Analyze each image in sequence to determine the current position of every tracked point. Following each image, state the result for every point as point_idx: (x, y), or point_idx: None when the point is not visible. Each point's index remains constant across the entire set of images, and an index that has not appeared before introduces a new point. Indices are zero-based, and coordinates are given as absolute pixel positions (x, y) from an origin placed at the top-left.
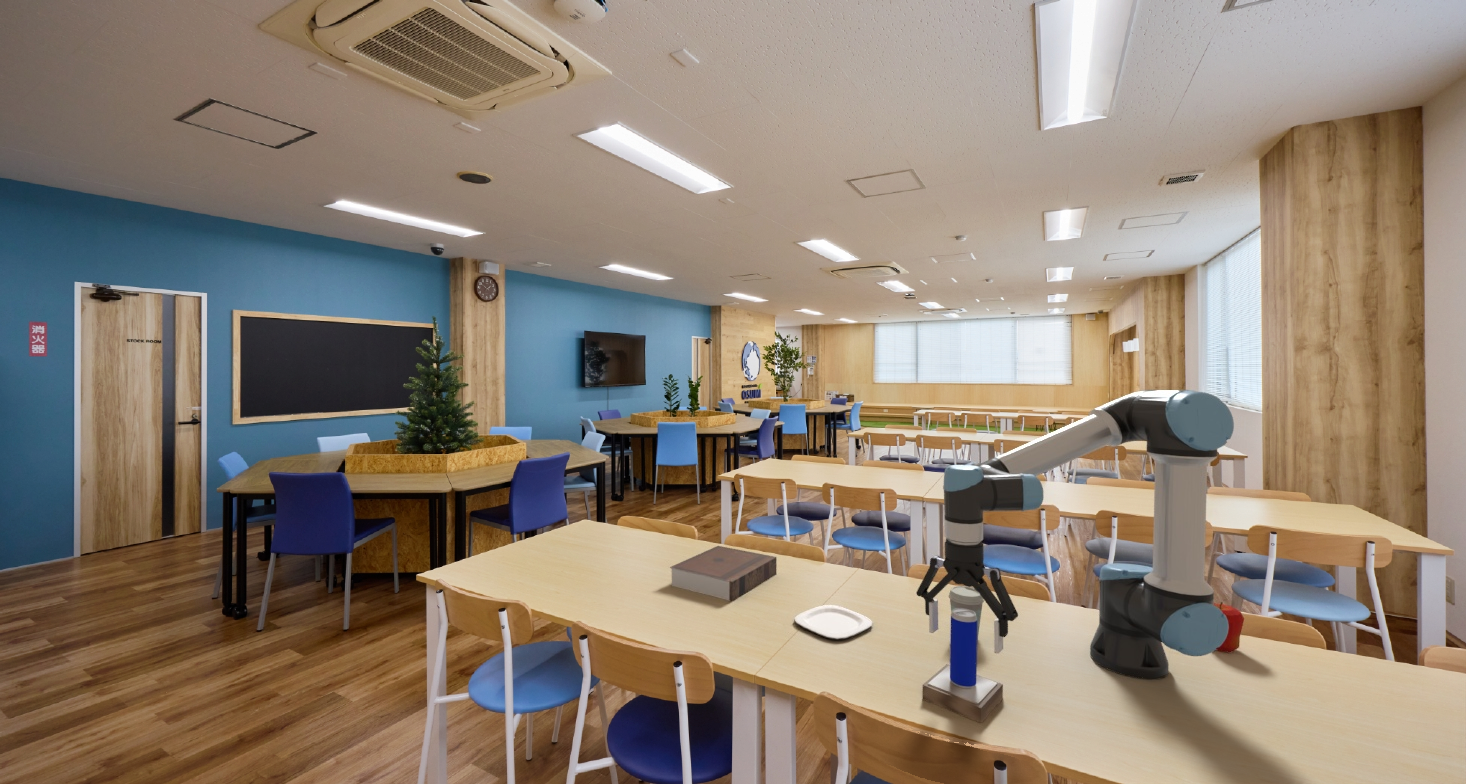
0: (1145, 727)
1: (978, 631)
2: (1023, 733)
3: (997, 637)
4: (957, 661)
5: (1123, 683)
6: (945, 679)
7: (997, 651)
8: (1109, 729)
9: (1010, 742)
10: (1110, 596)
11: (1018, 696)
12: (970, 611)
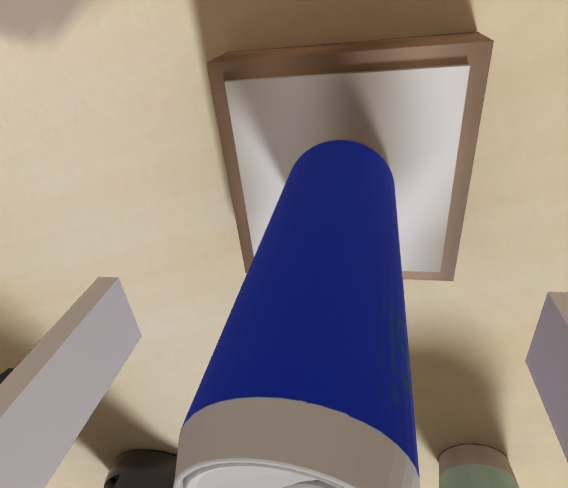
0: (26, 320)
1: (439, 484)
2: (121, 108)
3: (36, 350)
4: (332, 187)
5: (138, 428)
6: (410, 162)
7: (96, 284)
8: (46, 274)
9: (108, 19)
10: None
11: (235, 280)
12: None
